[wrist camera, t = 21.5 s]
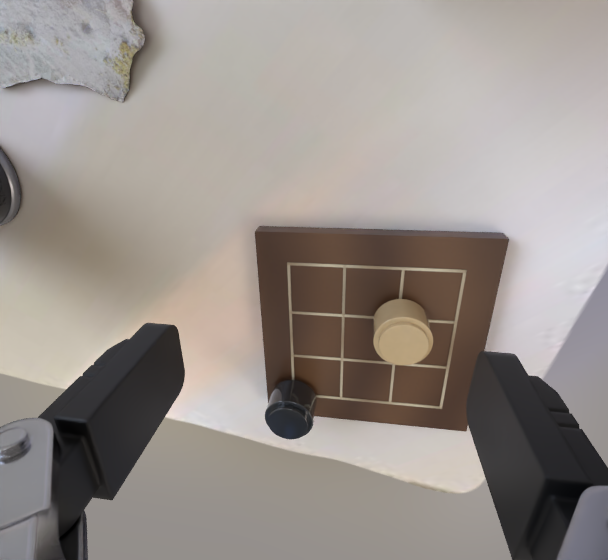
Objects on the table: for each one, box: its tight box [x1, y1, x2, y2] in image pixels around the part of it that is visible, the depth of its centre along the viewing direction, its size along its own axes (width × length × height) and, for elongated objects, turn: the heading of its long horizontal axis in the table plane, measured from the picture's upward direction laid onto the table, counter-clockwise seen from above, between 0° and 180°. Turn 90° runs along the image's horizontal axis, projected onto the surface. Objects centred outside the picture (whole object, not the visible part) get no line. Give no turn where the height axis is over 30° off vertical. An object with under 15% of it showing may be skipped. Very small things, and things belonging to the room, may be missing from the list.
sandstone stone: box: [373, 299, 433, 365], centre depth 31 cm, size 5×5×4 cm
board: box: [255, 226, 509, 431], centre depth 35 cm, size 20×20×2 cm
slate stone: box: [265, 380, 317, 439], centre depth 37 cm, size 5×5×4 cm
